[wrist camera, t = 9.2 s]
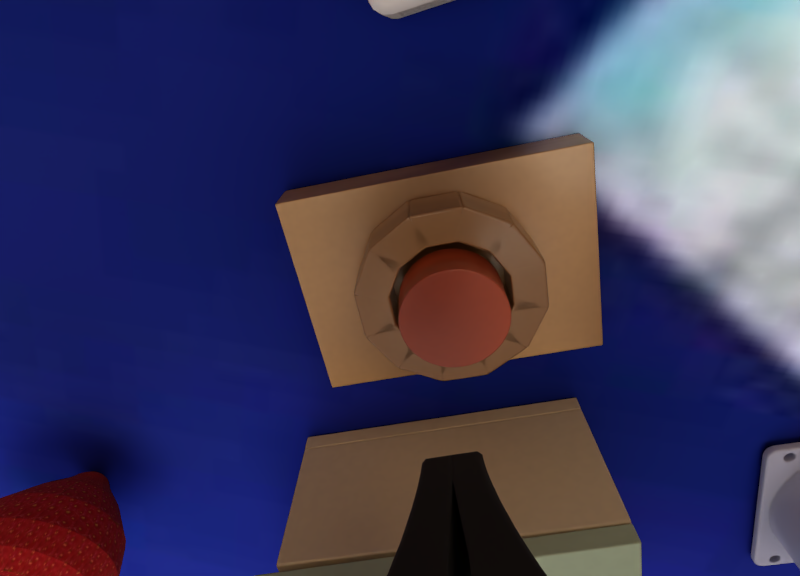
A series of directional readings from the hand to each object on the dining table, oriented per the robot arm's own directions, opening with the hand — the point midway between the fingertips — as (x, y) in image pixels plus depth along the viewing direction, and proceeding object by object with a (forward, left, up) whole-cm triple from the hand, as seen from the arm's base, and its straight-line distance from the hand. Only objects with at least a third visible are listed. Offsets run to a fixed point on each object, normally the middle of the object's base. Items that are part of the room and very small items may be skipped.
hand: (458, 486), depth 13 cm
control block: (-1, -1, -10) cm, 10 cm away
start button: (-1, -1, -7) cm, 7 cm away
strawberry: (+18, +7, -11) cm, 22 cm away
